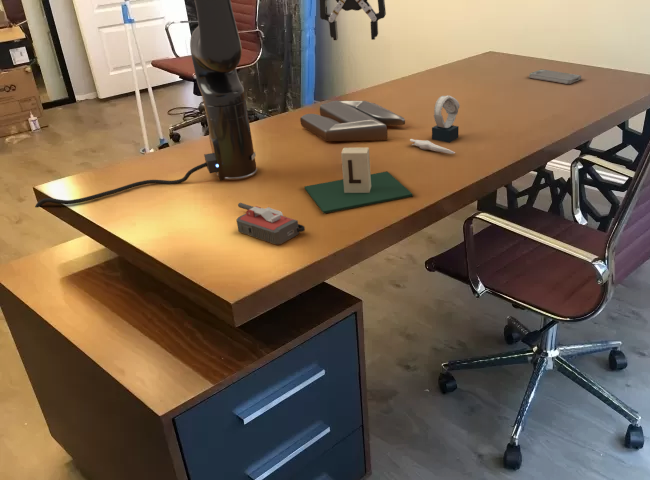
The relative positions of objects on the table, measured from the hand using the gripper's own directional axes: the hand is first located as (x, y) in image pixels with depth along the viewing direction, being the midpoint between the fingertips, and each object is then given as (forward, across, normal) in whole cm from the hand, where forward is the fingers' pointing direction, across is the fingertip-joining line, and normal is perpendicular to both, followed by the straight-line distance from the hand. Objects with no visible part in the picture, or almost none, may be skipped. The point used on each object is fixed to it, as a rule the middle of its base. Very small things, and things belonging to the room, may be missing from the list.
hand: (354, 39), depth 146 cm
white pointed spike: (+27, +17, +10) cm, 33 cm away
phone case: (+28, +58, +68) cm, 94 cm away
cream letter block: (+28, +2, -20) cm, 34 cm away
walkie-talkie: (+28, -16, -38) cm, 50 cm away
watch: (+28, +20, +16) cm, 38 cm away
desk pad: (+28, +2, -21) cm, 35 cm away
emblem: (+28, -6, +25) cm, 38 cm away
